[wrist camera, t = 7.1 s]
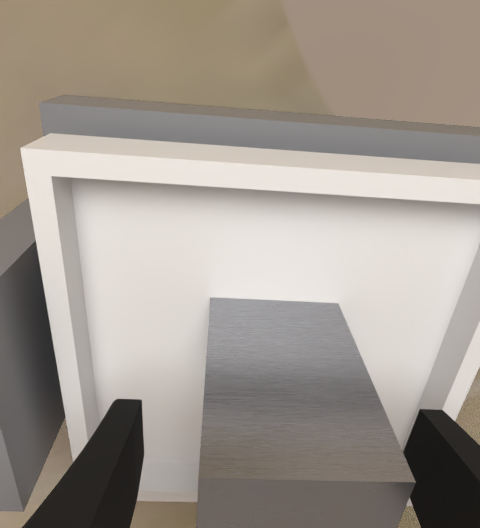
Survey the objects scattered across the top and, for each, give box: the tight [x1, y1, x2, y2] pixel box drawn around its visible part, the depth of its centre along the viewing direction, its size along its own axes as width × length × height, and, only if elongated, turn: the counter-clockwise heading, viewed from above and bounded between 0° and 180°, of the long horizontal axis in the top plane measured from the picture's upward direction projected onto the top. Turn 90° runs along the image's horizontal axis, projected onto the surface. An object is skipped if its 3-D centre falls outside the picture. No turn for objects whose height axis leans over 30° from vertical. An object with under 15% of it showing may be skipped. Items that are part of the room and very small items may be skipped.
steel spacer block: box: [196, 297, 416, 528], centre depth 11 cm, size 4×4×6 cm
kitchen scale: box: [0, 95, 480, 512], centre depth 14 cm, size 16×14×7 cm
